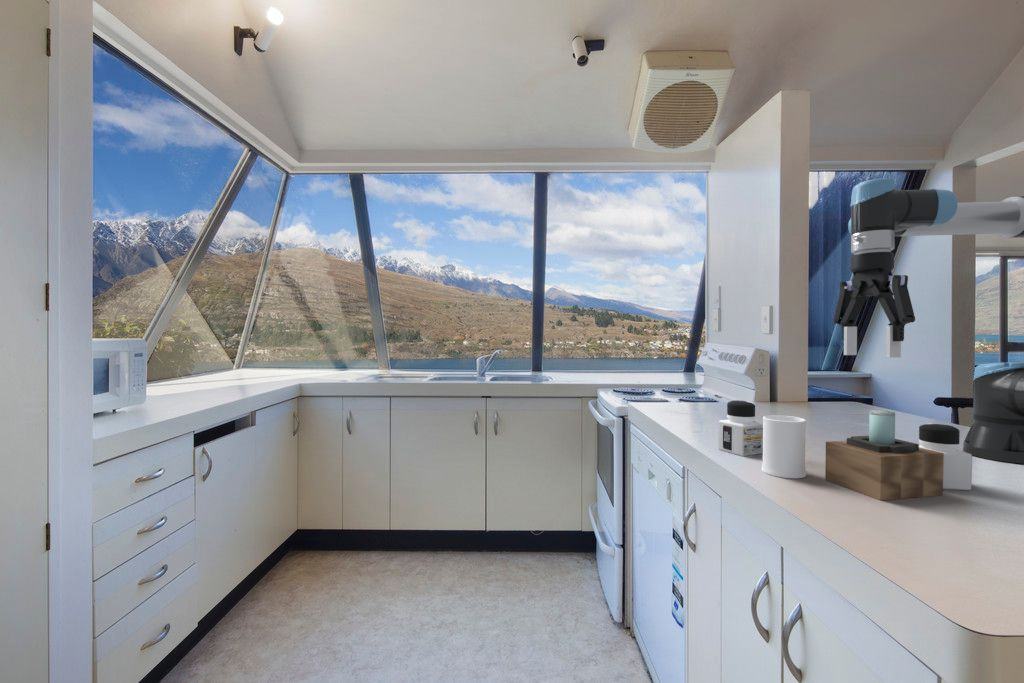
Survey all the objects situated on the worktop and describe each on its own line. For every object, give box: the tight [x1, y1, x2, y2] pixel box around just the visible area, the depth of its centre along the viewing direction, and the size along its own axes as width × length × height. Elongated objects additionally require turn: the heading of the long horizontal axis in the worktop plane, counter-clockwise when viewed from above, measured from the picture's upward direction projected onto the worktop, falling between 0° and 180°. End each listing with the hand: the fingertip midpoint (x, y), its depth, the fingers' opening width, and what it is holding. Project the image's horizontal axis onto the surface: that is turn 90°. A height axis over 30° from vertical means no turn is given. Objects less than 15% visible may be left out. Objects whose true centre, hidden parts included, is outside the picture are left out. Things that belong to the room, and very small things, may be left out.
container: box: [717, 399, 763, 457], centre depth 120 cm, size 8×8×13 cm
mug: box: [761, 414, 807, 480], centre depth 104 cm, size 12×8×12 cm
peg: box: [868, 409, 896, 445], centre depth 92 cm, size 4×4×9 cm
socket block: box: [824, 435, 944, 501], centre depth 92 cm, size 14×12×9 cm
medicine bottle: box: [918, 422, 973, 491], centre depth 94 cm, size 7×7×12 cm
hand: (870, 356), depth 102 cm, fingers open, 9 cm apart
